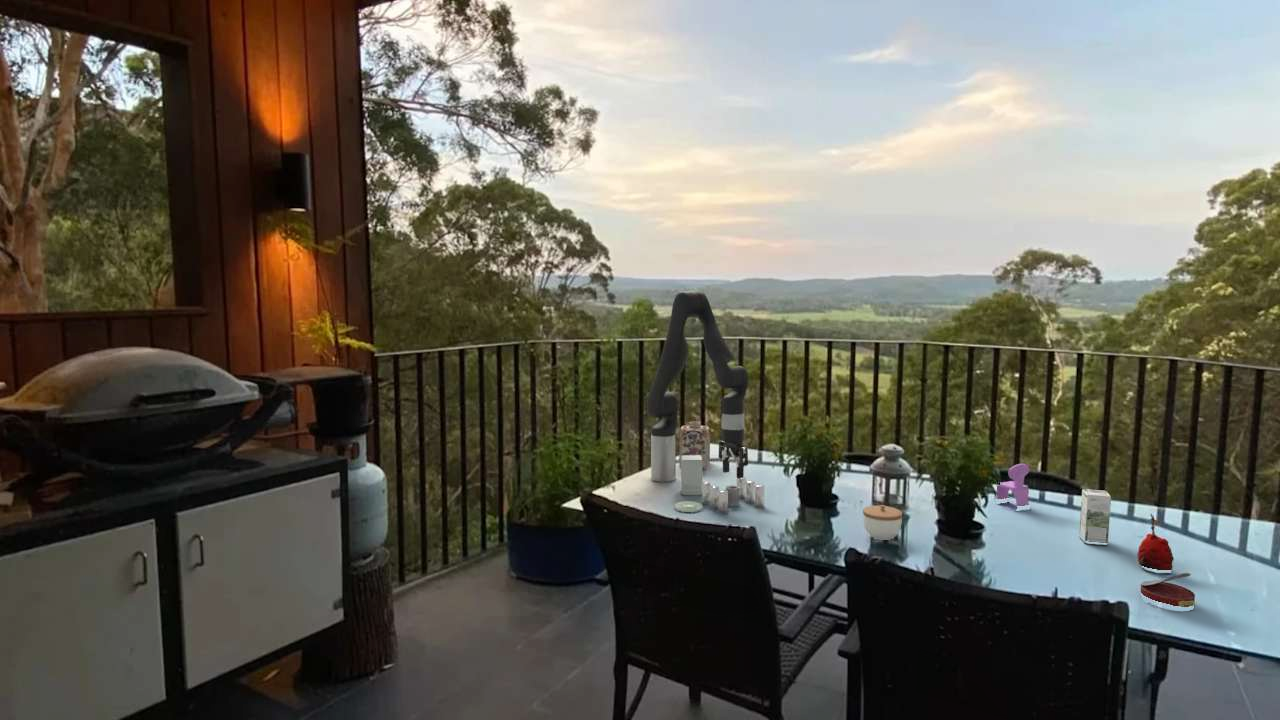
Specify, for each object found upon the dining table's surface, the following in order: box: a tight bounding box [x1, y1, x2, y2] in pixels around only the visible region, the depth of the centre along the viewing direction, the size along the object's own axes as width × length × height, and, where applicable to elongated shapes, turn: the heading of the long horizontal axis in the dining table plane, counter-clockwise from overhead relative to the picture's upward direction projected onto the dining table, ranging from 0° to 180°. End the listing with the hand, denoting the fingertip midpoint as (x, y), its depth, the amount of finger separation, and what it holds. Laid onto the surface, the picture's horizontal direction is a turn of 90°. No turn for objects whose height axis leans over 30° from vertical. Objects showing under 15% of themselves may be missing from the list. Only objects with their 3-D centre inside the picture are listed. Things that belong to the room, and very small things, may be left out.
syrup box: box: [1078, 488, 1112, 544], centre depth 196 cm, size 6×6×14 cm
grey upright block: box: [725, 484, 740, 508], centre depth 233 cm, size 4×5×6 cm
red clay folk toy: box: [1137, 513, 1174, 571], centre depth 176 cm, size 8×7×15 cm
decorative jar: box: [678, 421, 711, 470], centre depth 286 cm, size 12×12×18 cm
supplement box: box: [680, 455, 703, 496], centre depth 248 cm, size 7×7×13 cm
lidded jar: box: [862, 504, 903, 541], centre depth 201 cm, size 11×11×9 cm
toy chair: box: [996, 463, 1030, 507], centre depth 228 cm, size 8×9×15 cm
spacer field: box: [700, 476, 765, 515], centre depth 233 cm, size 14×17×7 cm
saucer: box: [674, 501, 703, 514], centre depth 230 cm, size 9×9×1 cm
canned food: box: [1140, 572, 1196, 607], centre depth 158 cm, size 11×10×10 cm
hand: (732, 475), depth 232 cm, fingers open, 8 cm apart
